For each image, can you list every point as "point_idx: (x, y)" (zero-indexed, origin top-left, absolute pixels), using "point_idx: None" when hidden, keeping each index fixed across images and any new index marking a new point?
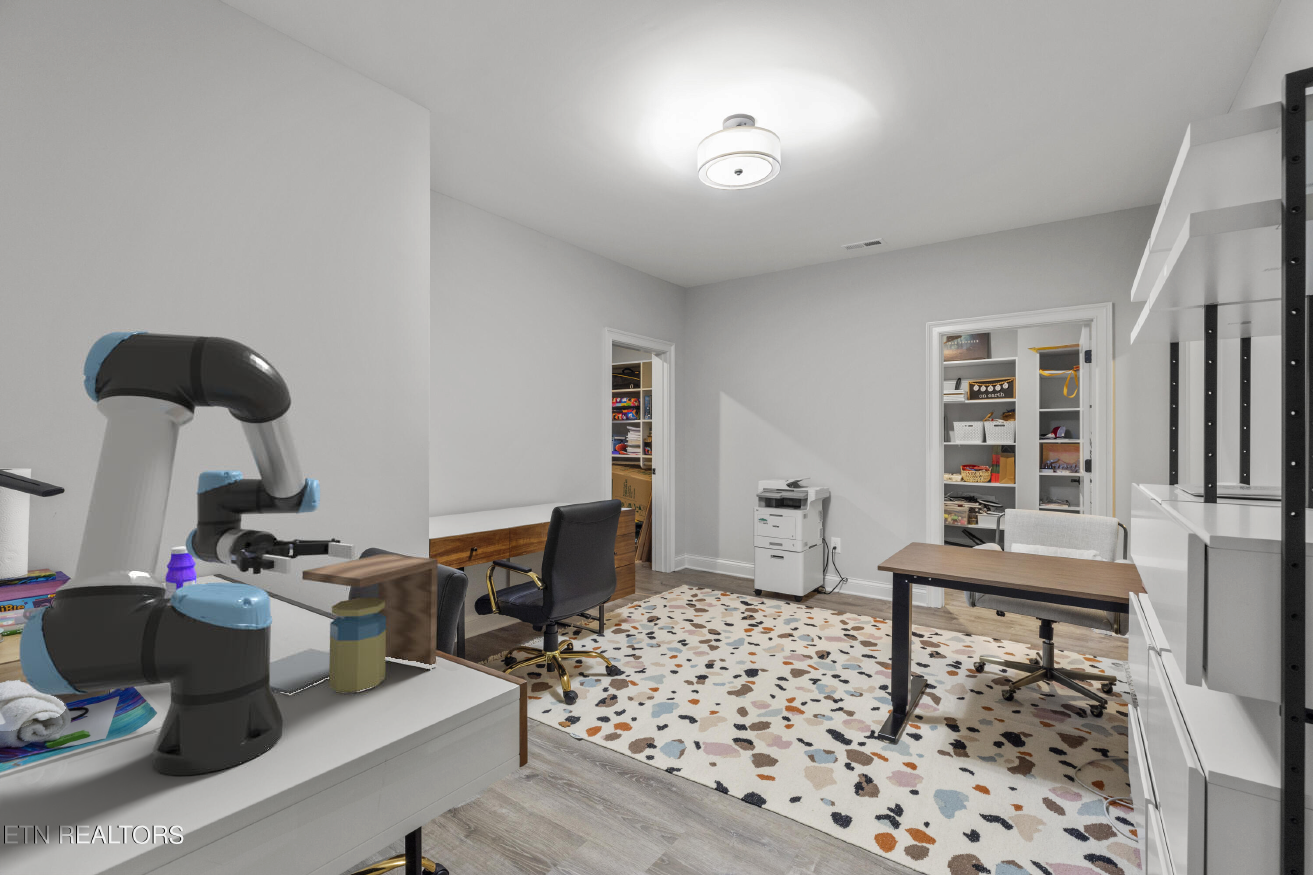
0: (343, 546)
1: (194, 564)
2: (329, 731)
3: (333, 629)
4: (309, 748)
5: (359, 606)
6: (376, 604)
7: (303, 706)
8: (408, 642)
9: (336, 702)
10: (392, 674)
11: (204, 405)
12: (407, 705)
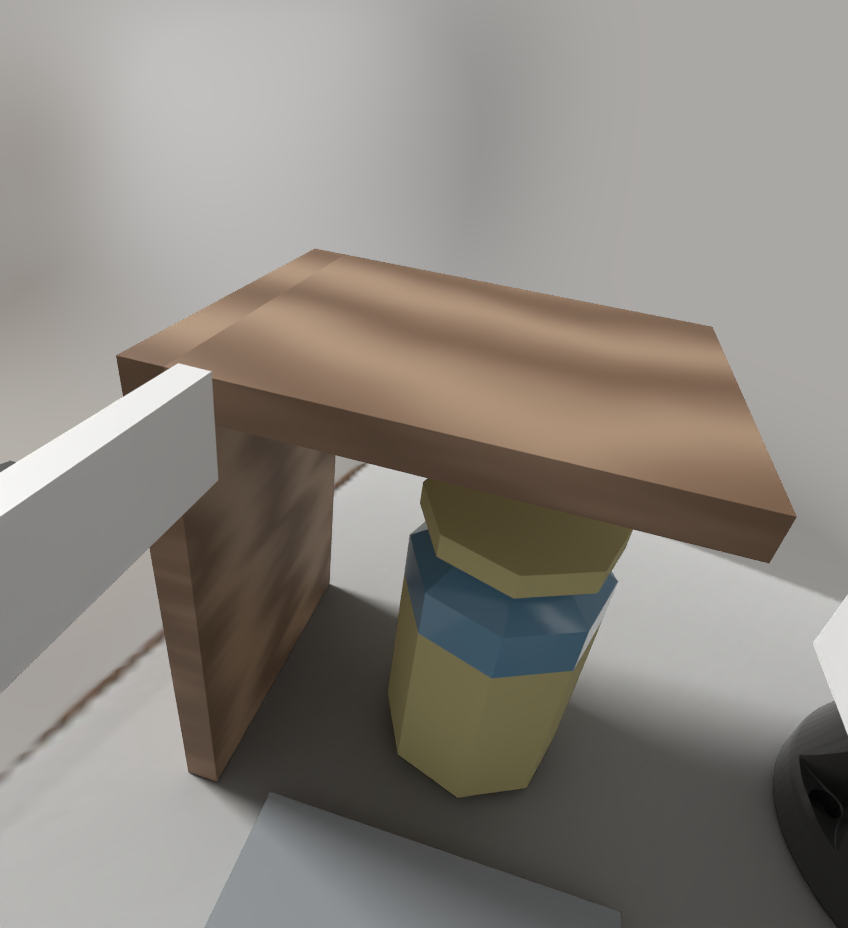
0: (141, 438)
1: None
2: (707, 649)
3: (596, 622)
4: (776, 649)
5: None
6: None
7: (651, 799)
8: (292, 593)
9: (588, 717)
10: (368, 663)
11: None
12: None
